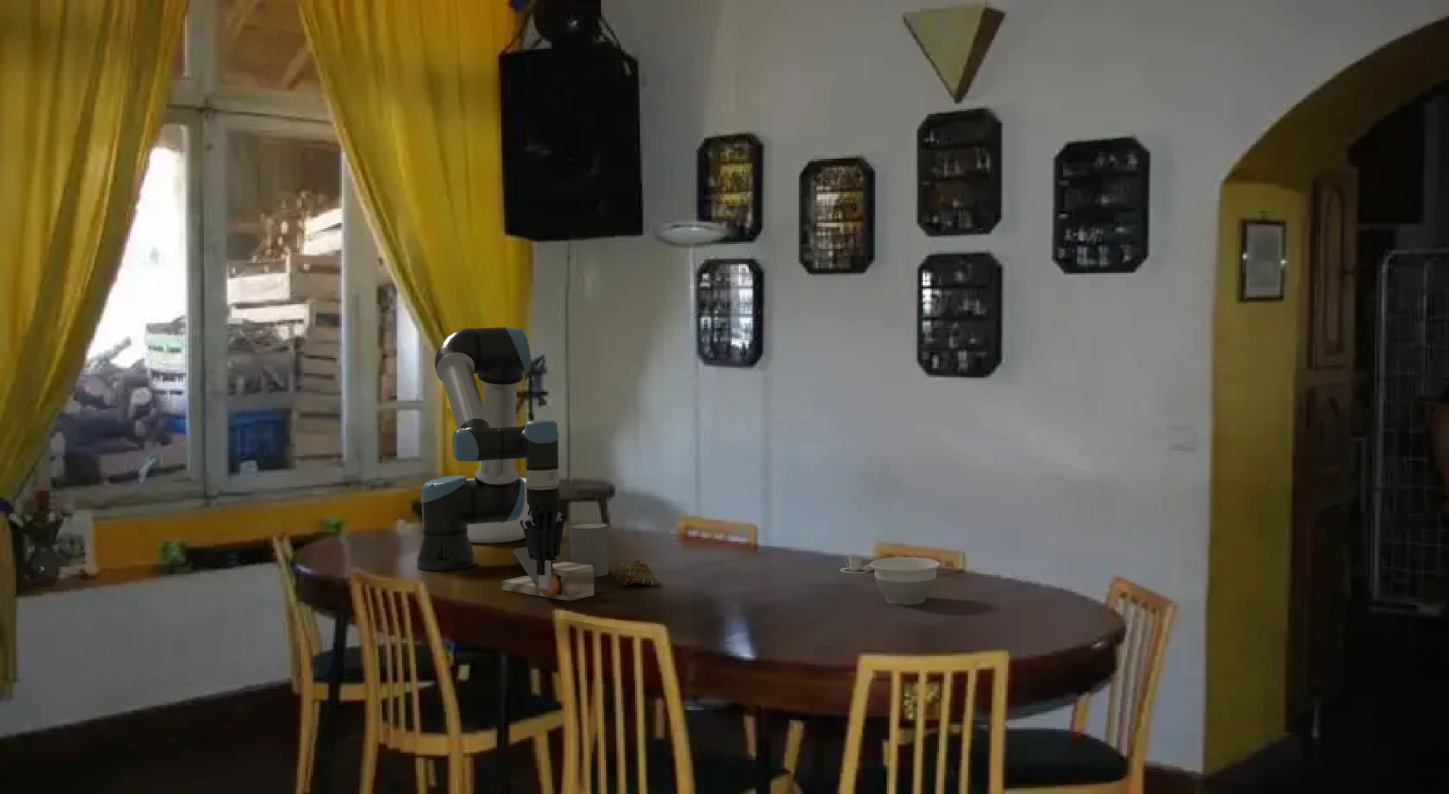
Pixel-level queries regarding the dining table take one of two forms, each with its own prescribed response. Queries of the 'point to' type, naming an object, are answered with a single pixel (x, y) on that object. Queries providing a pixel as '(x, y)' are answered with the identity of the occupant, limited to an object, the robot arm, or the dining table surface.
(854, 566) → the teacup and saucer
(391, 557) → the dining table surface
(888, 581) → the bowl
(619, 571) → the seashell
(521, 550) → the latch flap
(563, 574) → the block
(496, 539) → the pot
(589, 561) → the grey stone cylinder
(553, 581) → the pin
